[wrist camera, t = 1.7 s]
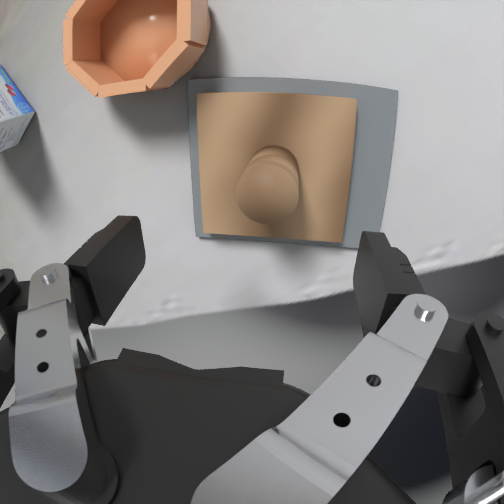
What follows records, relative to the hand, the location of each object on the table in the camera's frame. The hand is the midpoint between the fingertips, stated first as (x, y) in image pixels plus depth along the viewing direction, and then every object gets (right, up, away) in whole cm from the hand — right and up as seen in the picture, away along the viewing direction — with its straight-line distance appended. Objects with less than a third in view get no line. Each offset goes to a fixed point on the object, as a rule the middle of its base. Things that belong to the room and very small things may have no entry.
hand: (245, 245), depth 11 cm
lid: (+2, +6, +10) cm, 12 cm away
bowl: (-7, +15, +7) cm, 18 cm away
